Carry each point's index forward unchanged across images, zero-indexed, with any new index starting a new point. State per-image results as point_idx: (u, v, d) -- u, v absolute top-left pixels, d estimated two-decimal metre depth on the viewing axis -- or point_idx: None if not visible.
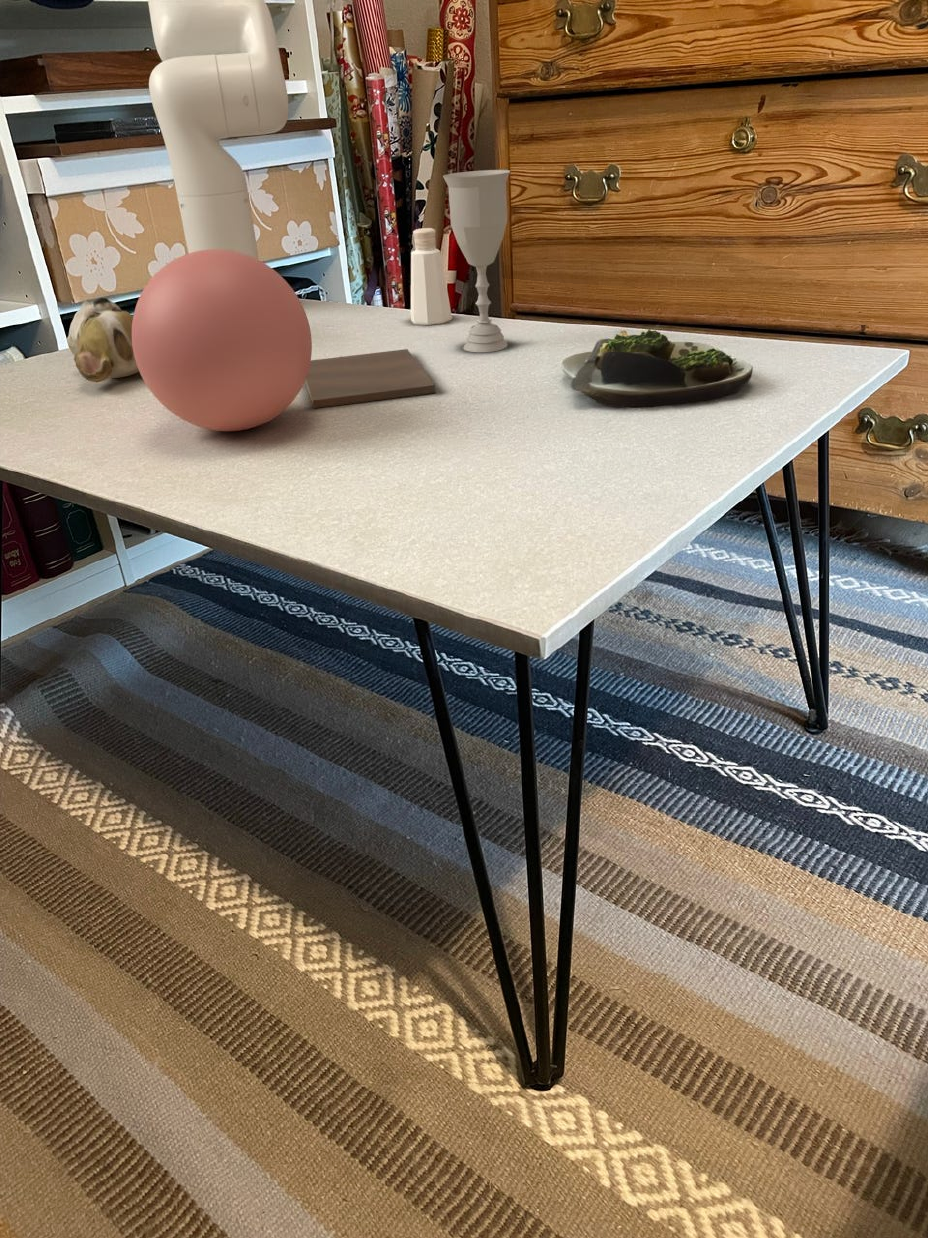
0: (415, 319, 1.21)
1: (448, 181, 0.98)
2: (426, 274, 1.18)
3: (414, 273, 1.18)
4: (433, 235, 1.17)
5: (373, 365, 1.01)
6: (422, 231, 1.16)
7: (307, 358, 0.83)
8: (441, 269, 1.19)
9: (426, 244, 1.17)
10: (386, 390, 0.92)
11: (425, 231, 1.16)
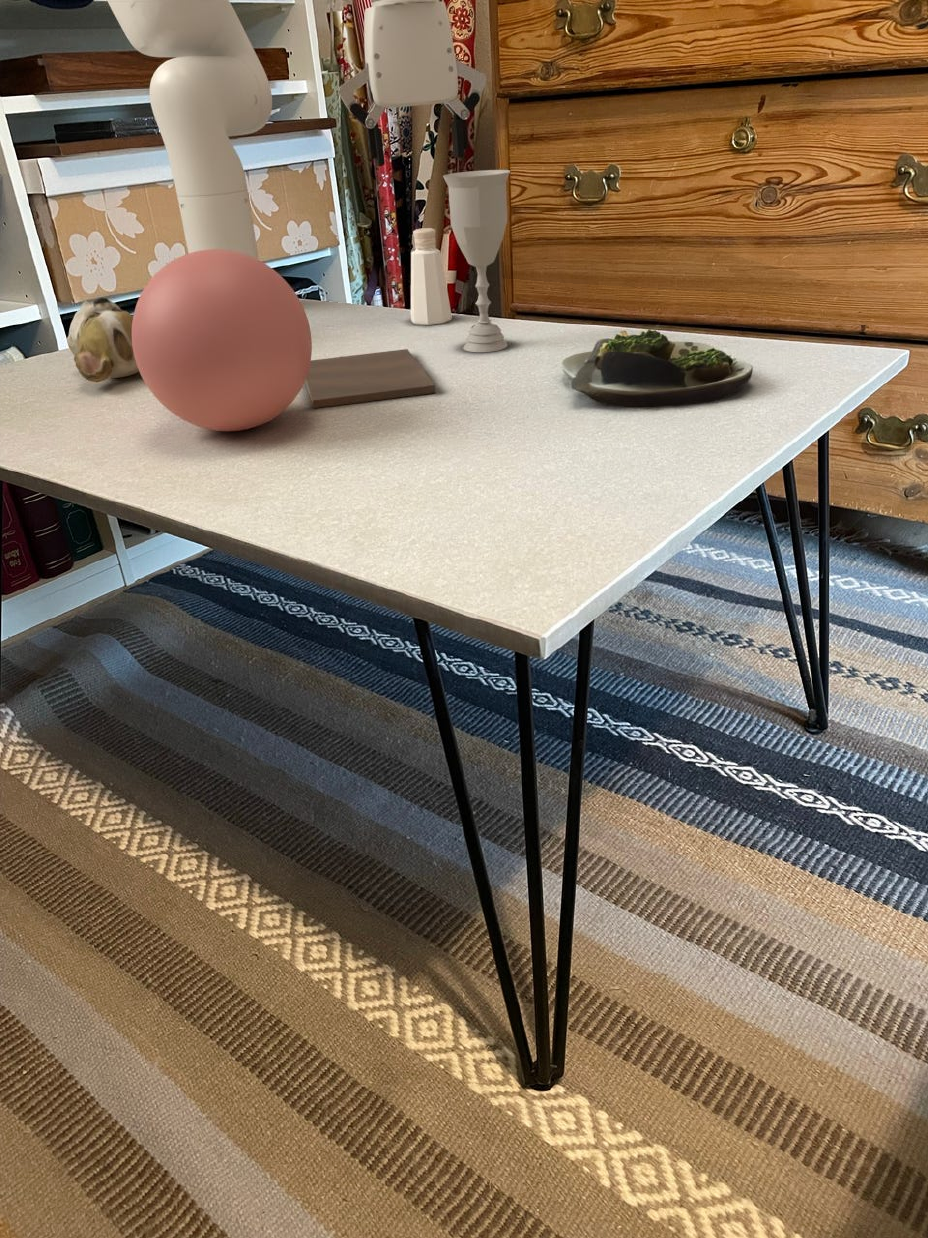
0: (415, 319, 1.21)
1: (448, 181, 0.98)
2: (426, 274, 1.18)
3: (414, 273, 1.18)
4: (433, 235, 1.17)
5: (373, 365, 1.01)
6: (422, 231, 1.16)
7: (307, 358, 0.83)
8: (441, 269, 1.19)
9: (426, 244, 1.17)
10: (386, 390, 0.92)
11: (425, 231, 1.16)
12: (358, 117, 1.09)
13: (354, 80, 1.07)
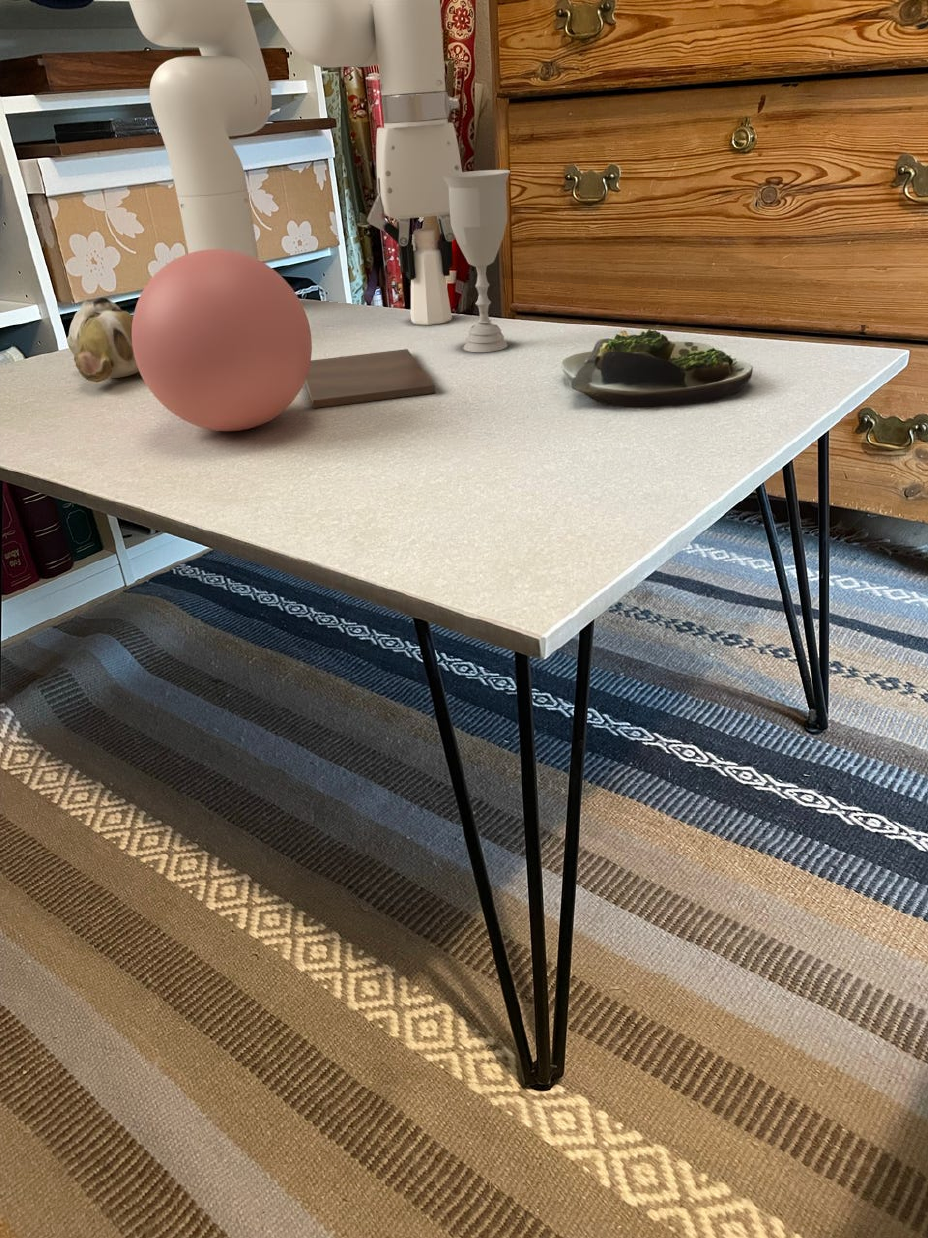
0: (415, 319, 1.21)
1: (448, 181, 0.98)
2: (426, 274, 1.18)
3: None
4: (433, 235, 1.17)
5: (373, 365, 1.01)
6: (422, 231, 1.16)
7: (307, 358, 0.83)
8: (441, 269, 1.19)
9: (427, 244, 1.17)
10: (386, 390, 0.92)
11: (425, 231, 1.16)
12: (392, 236, 1.16)
13: (377, 206, 1.14)
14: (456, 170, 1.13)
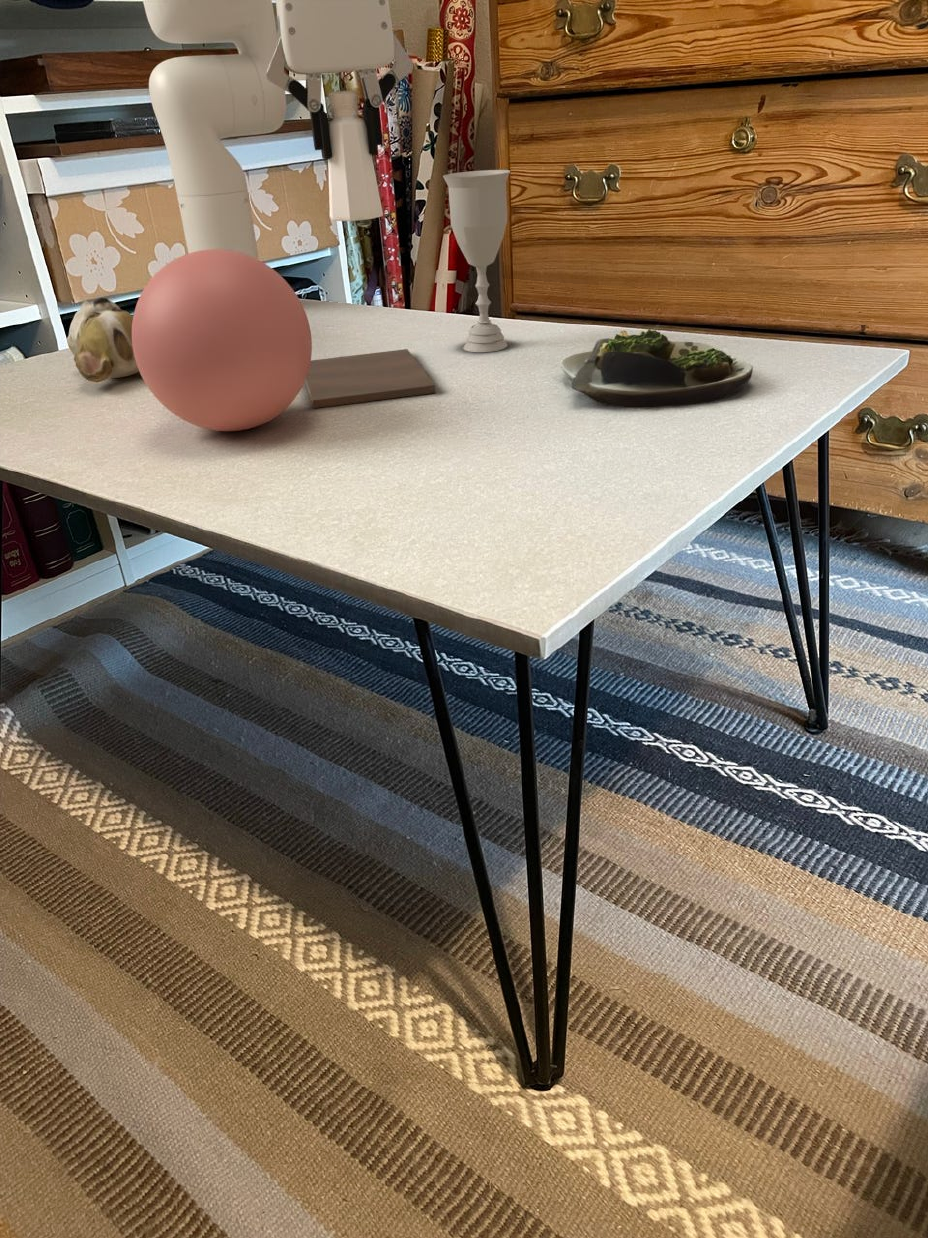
0: (334, 214, 0.92)
1: (448, 181, 0.98)
2: (346, 152, 0.90)
3: None
4: (354, 98, 0.89)
5: (373, 365, 1.01)
6: (339, 92, 0.88)
7: (307, 358, 0.83)
8: (366, 146, 0.90)
9: (346, 110, 0.89)
10: (386, 390, 0.92)
11: (343, 92, 0.88)
12: (299, 98, 0.88)
13: (278, 55, 0.86)
14: (381, 5, 0.85)
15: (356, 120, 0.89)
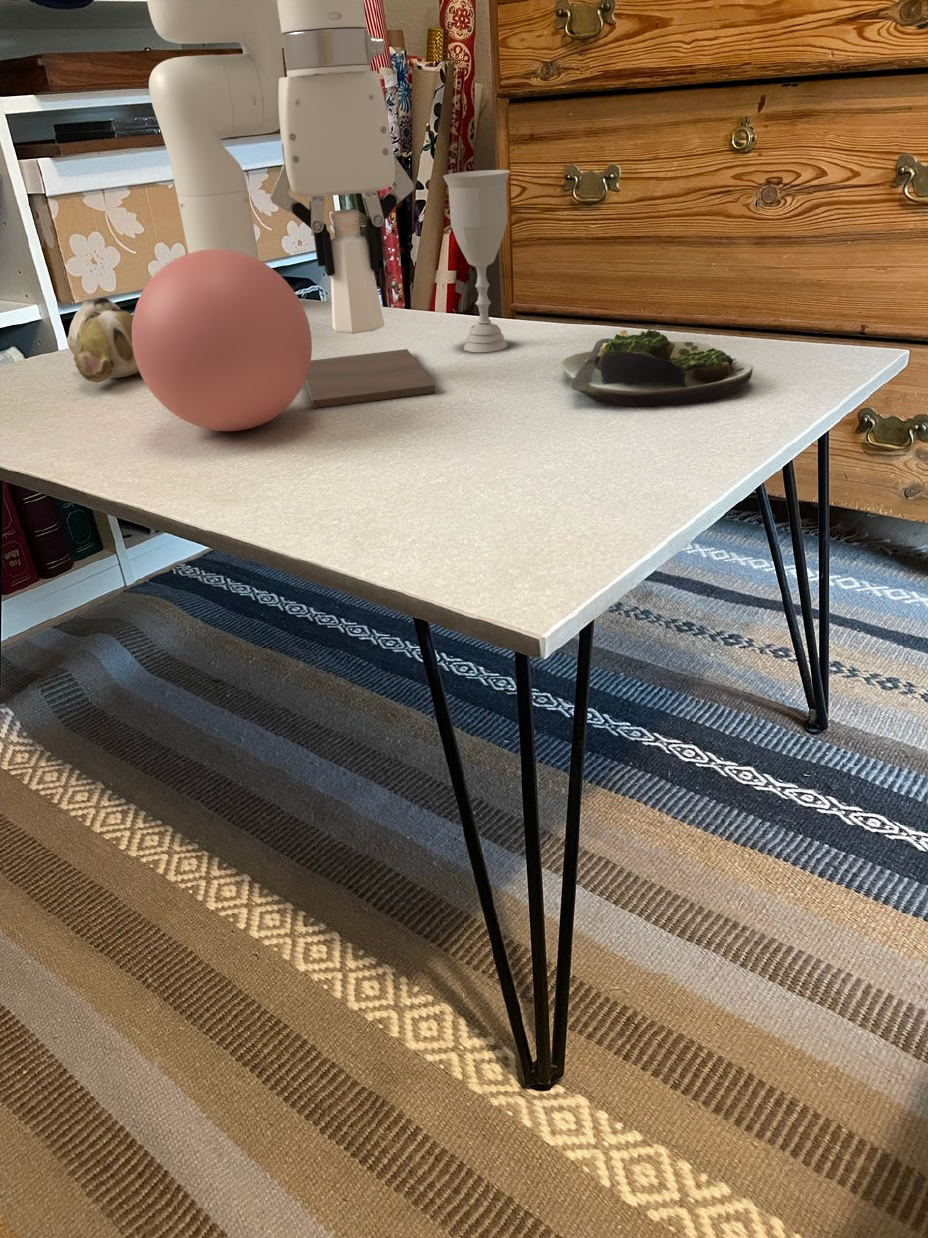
0: (337, 326, 0.95)
1: (448, 181, 0.98)
2: (348, 269, 0.92)
3: None
4: (356, 218, 0.91)
5: (373, 365, 1.01)
6: (342, 213, 0.90)
7: (307, 358, 0.83)
8: (368, 262, 0.93)
9: (348, 230, 0.91)
10: (386, 390, 0.92)
11: (345, 213, 0.90)
12: (302, 219, 0.90)
13: (282, 180, 0.88)
14: (383, 133, 0.87)
15: (358, 239, 0.91)
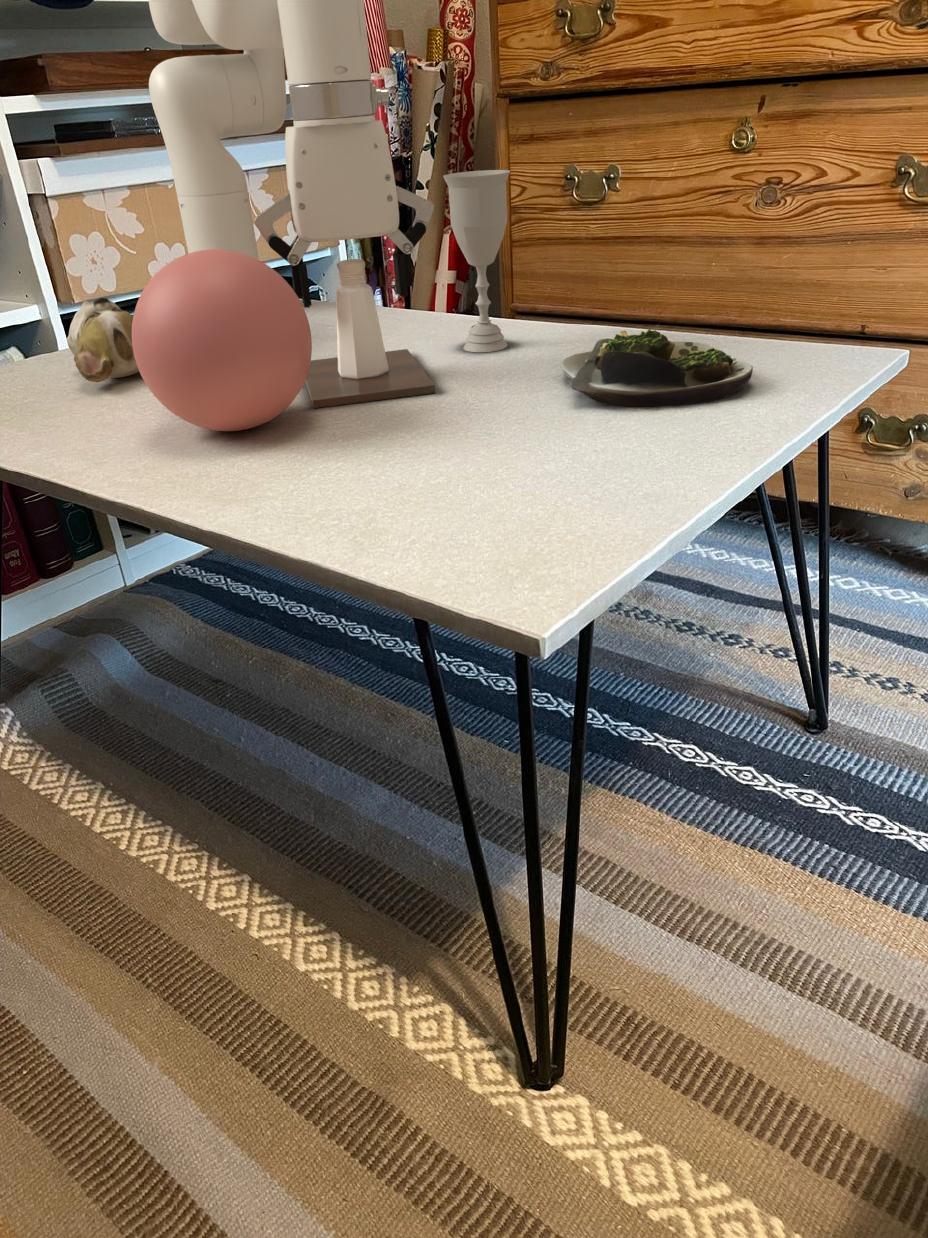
0: (342, 371, 0.97)
1: (448, 181, 0.98)
2: (354, 317, 0.94)
3: (339, 315, 0.95)
4: (362, 268, 0.93)
5: None
6: (347, 263, 0.92)
7: (307, 358, 0.83)
8: (373, 310, 0.95)
9: (353, 280, 0.93)
10: (386, 390, 0.92)
11: (351, 263, 0.92)
12: (279, 252, 0.91)
13: (274, 210, 0.89)
14: (387, 181, 0.89)
15: (363, 288, 0.94)
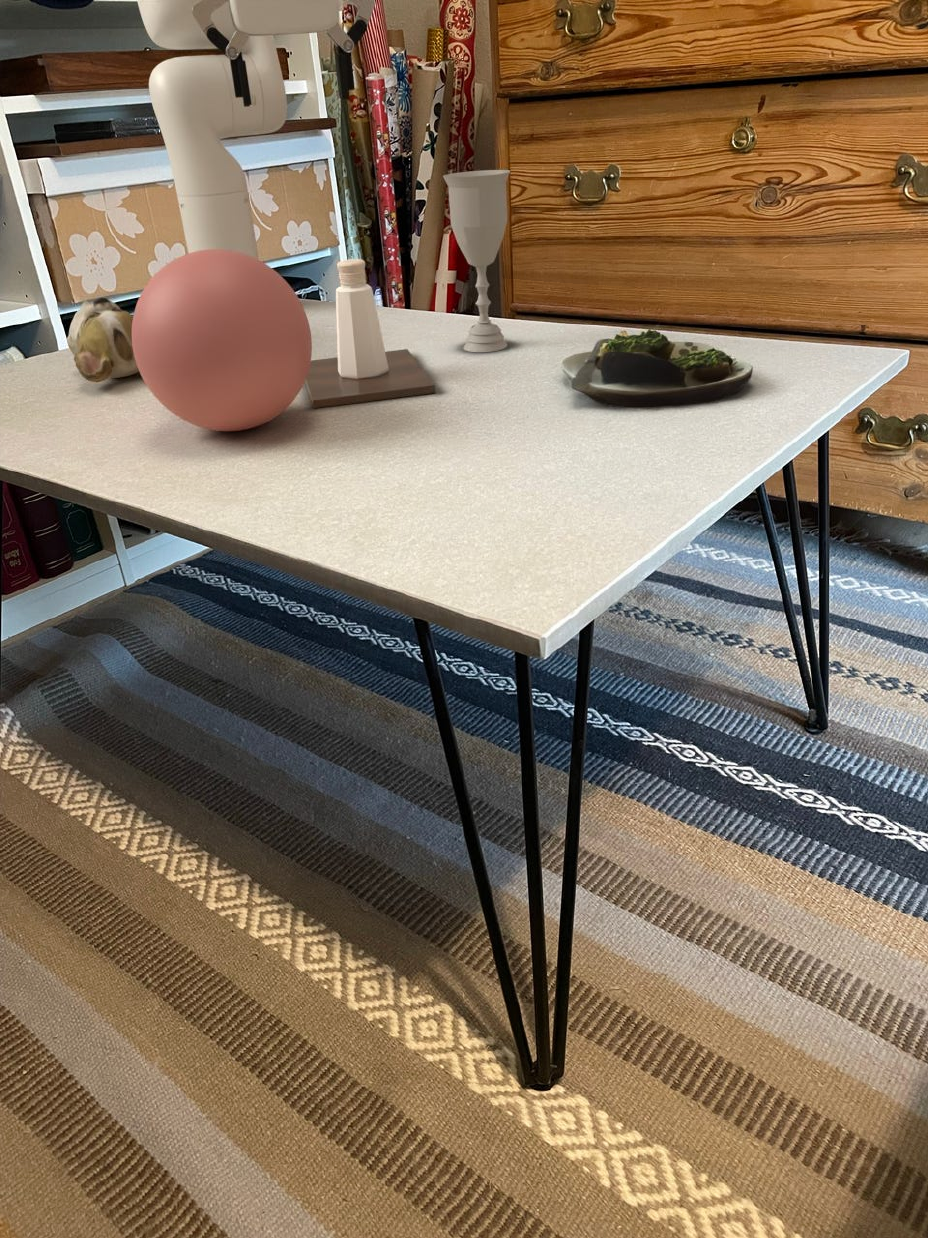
0: (342, 371, 0.97)
1: (448, 181, 0.98)
2: (354, 317, 0.94)
3: (339, 315, 0.95)
4: (362, 268, 0.93)
5: None
6: (347, 263, 0.92)
7: (307, 358, 0.83)
8: (373, 310, 0.95)
9: (353, 280, 0.93)
10: (386, 390, 0.92)
11: (351, 263, 0.92)
12: (217, 45, 0.90)
13: None
14: None
15: (363, 288, 0.94)
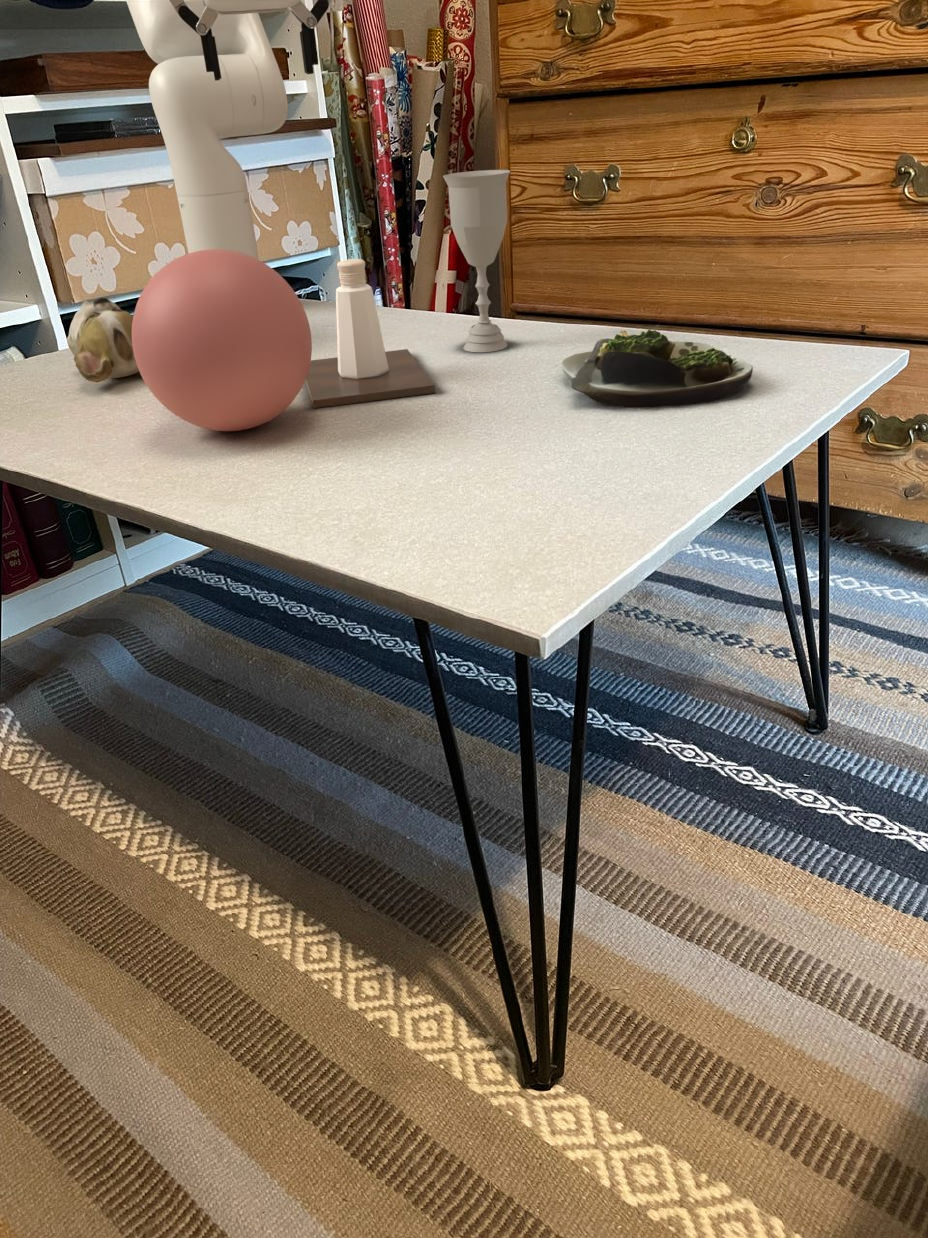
0: (342, 371, 0.97)
1: (448, 181, 0.98)
2: (354, 317, 0.94)
3: (339, 315, 0.95)
4: (362, 268, 0.93)
5: None
6: (347, 263, 0.92)
7: (307, 358, 0.83)
8: (373, 310, 0.95)
9: (353, 280, 0.93)
10: (386, 390, 0.92)
11: (351, 263, 0.92)
12: (188, 22, 0.96)
13: None
14: None
15: (363, 288, 0.94)
